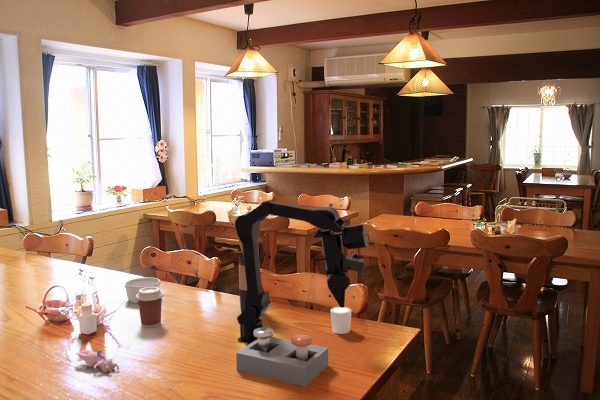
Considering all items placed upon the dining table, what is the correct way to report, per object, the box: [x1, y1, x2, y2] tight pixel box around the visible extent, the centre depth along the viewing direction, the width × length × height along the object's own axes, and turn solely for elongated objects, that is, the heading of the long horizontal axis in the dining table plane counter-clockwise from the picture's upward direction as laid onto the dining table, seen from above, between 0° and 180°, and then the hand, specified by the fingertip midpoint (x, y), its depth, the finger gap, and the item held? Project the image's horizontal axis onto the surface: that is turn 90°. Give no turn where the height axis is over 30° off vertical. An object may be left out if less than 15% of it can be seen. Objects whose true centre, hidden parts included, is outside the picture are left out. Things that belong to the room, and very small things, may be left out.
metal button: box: [254, 326, 275, 352], centre depth 152 cm, size 6×6×6 cm
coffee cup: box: [136, 287, 165, 328], centre depth 185 cm, size 9×9×12 cm
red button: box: [290, 334, 313, 361], centre depth 147 cm, size 6×6×6 cm
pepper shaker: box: [78, 302, 98, 336], centre depth 178 cm, size 4×4×10 cm
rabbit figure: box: [75, 348, 120, 374], centre depth 152 cm, size 6×6×15 cm
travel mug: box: [238, 254, 261, 313], centre depth 196 cm, size 8×8×20 cm
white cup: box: [329, 306, 352, 335], centre depth 176 cm, size 7×7×7 cm
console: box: [235, 336, 329, 388], centre depth 150 cm, size 21×14×5 cm, turn 61°
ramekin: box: [124, 276, 162, 304], centre depth 212 cm, size 13×13×7 cm
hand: (341, 302), depth 160 cm, fingers open, 9 cm apart
